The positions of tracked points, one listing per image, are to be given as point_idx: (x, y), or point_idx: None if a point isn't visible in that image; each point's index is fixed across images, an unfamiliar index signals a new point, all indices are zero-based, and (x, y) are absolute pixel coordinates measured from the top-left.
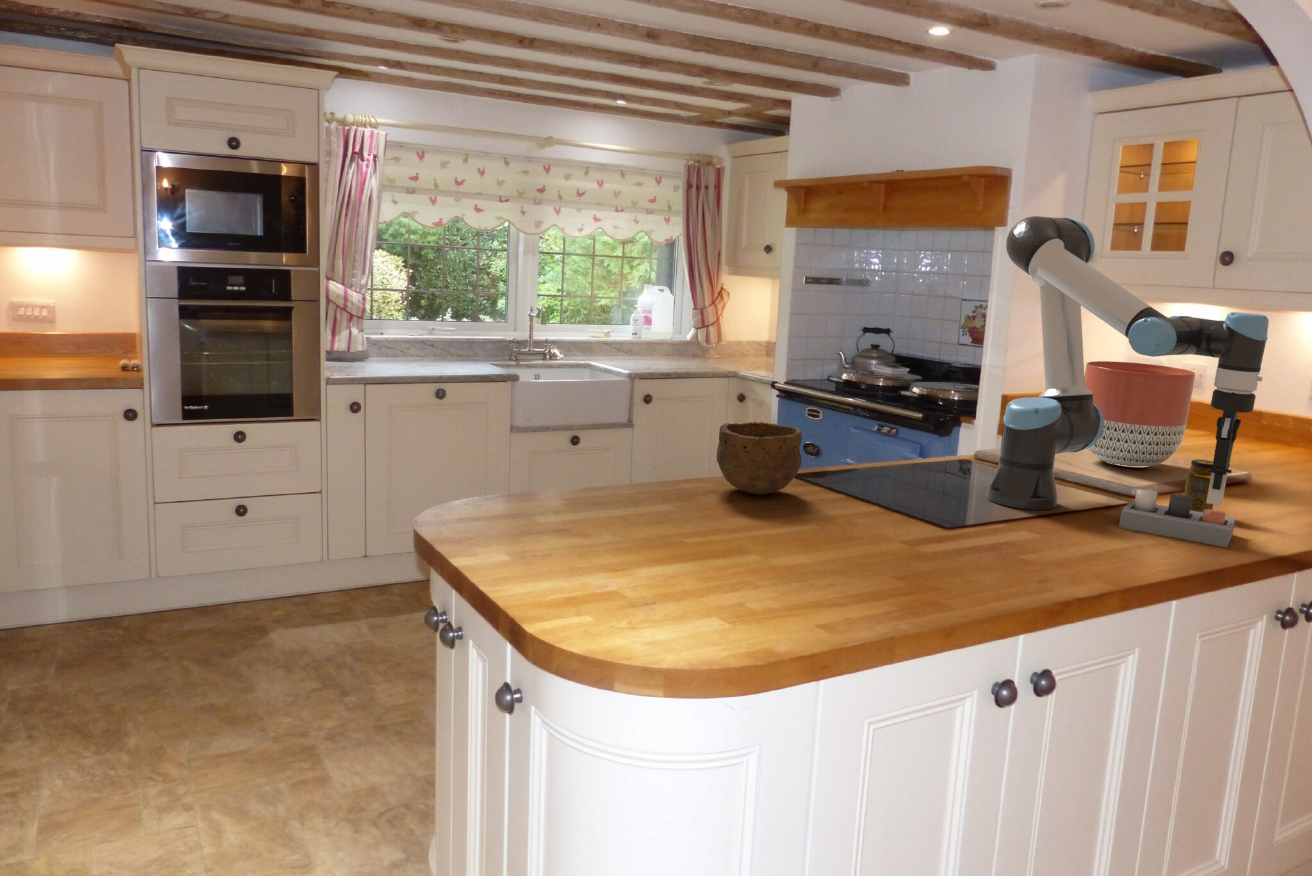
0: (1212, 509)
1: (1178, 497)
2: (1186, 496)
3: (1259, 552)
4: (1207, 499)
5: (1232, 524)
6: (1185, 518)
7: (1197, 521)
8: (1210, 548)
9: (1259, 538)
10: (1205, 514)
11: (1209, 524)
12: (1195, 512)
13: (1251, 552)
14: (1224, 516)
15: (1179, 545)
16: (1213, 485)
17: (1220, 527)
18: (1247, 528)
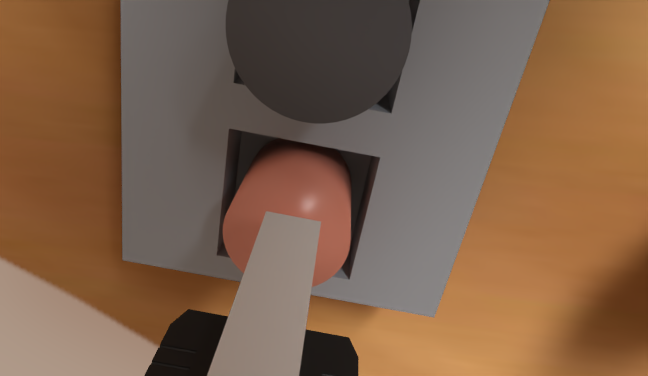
0: (345, 232)
1: (246, 4)
2: (347, 82)
3: (177, 314)
4: (260, 230)
5: None
6: None
7: (203, 122)
8: (85, 147)
9: (417, 345)
10: (253, 180)
11: (175, 180)
12: (460, 132)
13: (153, 290)
14: None
15: (17, 5)
16: (168, 338)
17: (147, 226)
18: (583, 330)
